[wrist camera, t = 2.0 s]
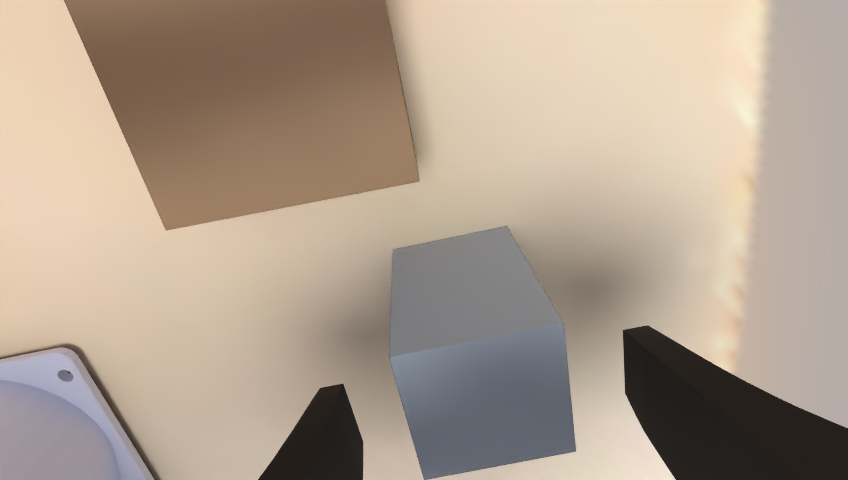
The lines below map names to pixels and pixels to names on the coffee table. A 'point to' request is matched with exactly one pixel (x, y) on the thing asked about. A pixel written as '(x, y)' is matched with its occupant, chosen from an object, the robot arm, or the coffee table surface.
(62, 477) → the robot arm
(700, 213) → the coffee table surface
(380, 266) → the coffee table surface
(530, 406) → the blue block
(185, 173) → the walnut block
